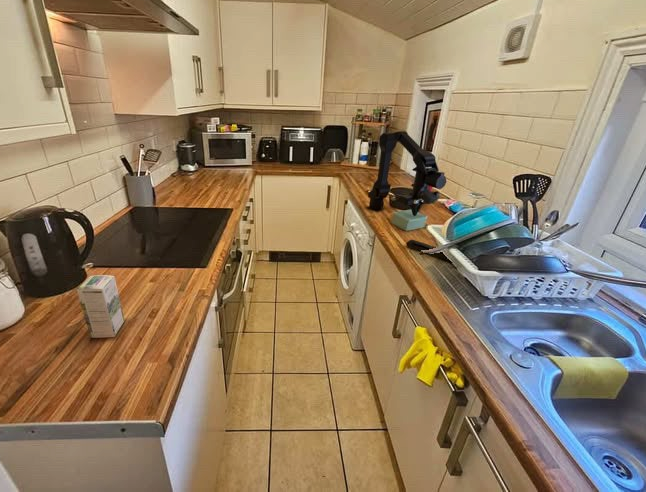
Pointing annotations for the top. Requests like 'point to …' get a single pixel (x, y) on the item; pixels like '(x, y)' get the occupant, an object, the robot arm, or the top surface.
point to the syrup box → (101, 306)
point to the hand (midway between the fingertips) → (414, 215)
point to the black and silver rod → (425, 248)
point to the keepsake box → (408, 223)
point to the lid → (409, 215)
